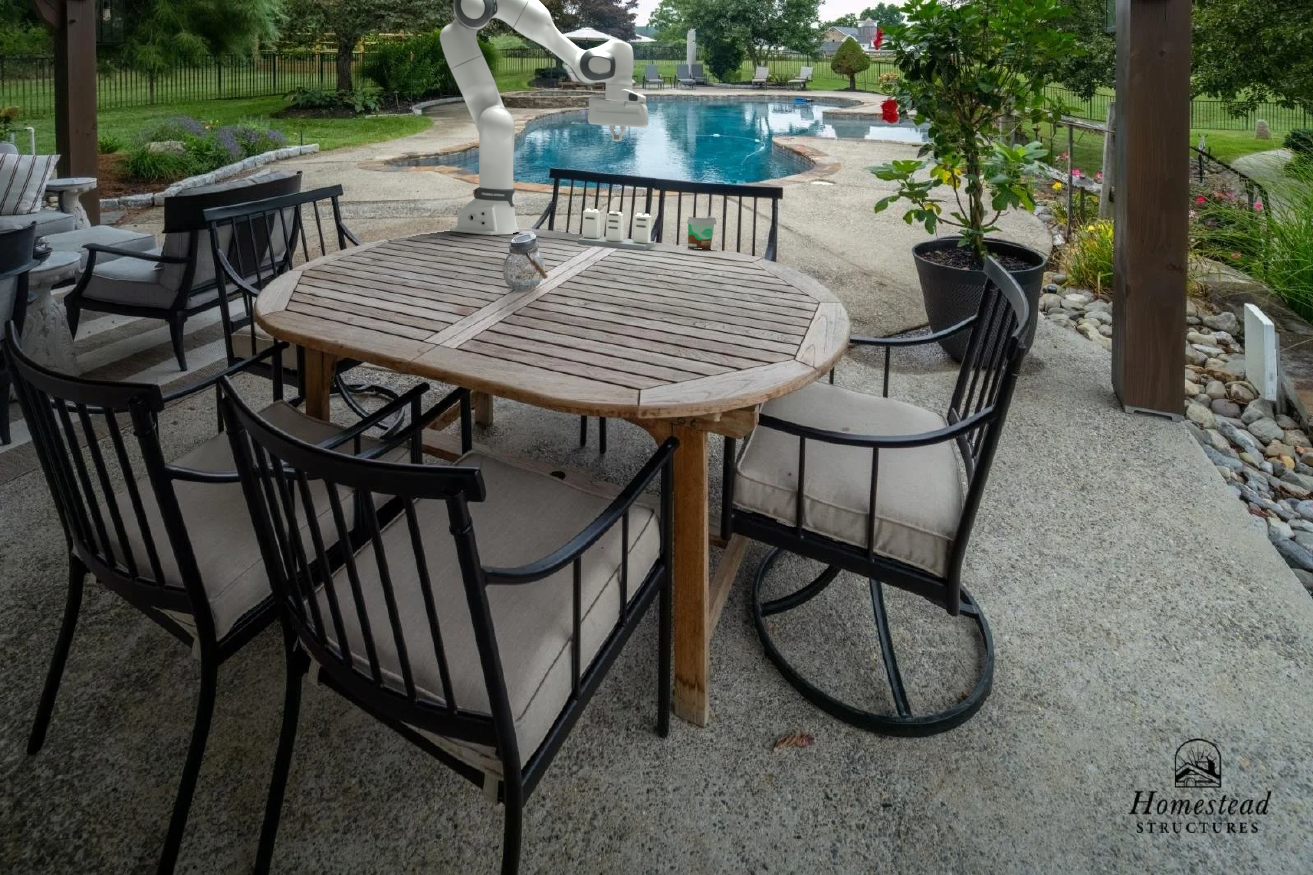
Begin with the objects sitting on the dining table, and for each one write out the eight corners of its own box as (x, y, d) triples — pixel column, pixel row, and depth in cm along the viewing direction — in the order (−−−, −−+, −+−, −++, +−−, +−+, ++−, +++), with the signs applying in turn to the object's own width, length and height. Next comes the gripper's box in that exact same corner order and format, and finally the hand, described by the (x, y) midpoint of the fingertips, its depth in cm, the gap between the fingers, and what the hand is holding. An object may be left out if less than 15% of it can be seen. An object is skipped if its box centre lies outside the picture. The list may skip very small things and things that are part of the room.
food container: (700, 251, 241) (703, 219, 237) (685, 248, 244) (687, 216, 241) (721, 248, 250) (724, 217, 246) (706, 246, 254) (708, 215, 250)
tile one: (582, 237, 242) (582, 208, 239) (585, 235, 245) (586, 208, 242) (596, 238, 241) (597, 210, 238) (599, 237, 244) (600, 209, 241)
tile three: (605, 240, 238) (606, 211, 235) (608, 238, 241) (609, 210, 238) (619, 241, 237) (620, 213, 234) (623, 240, 240) (624, 212, 237)
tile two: (632, 241, 238) (634, 213, 235) (635, 240, 241) (637, 212, 238) (647, 243, 237) (648, 214, 234) (650, 242, 240) (651, 213, 237)
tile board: (577, 243, 239) (578, 239, 239) (590, 239, 250) (590, 235, 250) (644, 250, 235) (644, 245, 234) (654, 246, 245) (654, 241, 245)
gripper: (585, 93, 246) (584, 138, 251) (645, 96, 241) (643, 142, 246) (592, 94, 251) (590, 138, 256) (650, 97, 247) (648, 142, 252)
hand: (617, 140), depth 251 cm, fingers closed
